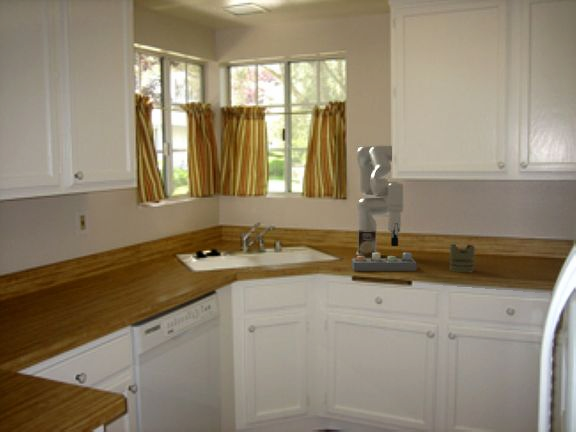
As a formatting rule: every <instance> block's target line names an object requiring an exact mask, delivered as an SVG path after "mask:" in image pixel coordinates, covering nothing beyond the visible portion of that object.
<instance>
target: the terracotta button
mask: <svg viewBox="0 0 576 432" xmlns="http://www.w3.org/2000/svg"><path fill="white" fill-rule="evenodd" d="M356 258H357V261H365V256H358V255H357V256H356Z"/></svg>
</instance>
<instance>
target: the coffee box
mask: <svg viewBox="0 0 576 432" xmlns="http://www.w3.org/2000/svg"><path fill="white" fill-rule="evenodd" d="M357 232H358V235H357V236H358V237H357V238H358V239H357V252H358V255H357V256H365V258H372V253H375V246H376V247H377V230H376V231H373V230H359V229H358V231H357Z"/></svg>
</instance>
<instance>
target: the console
mask: <svg viewBox="0 0 576 432" xmlns="http://www.w3.org/2000/svg"><path fill="white" fill-rule="evenodd" d="M417 263H418V262H416V260H415V259H413V258H412V257H411V261H403V257H401V258H400V257H399V258H397V257H396V261H388V257H386V258H381V260H380V261H372V258H365V261H357V257H354V258H353V257H352V258H351V268H352V270H353V271H354V272H359V271H360V272H364V271H365V272H369V271H370V272H375V271H376V272H377V271H378V272H379V271H380V272H382V271H384V272H388V271H389V272H392V271H393V272H394V271H395V272H403V271H405V272H406V271H408V272H410V271H411V272H412V271H413V272H416V271H417V269H418V267H417V266H418V265H417Z"/></svg>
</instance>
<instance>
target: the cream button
mask: <svg viewBox="0 0 576 432" xmlns="http://www.w3.org/2000/svg"><path fill="white" fill-rule="evenodd" d="M381 254H382V253H381V252H379V253H372V261H380V260H381V256H382V255H381Z"/></svg>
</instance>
